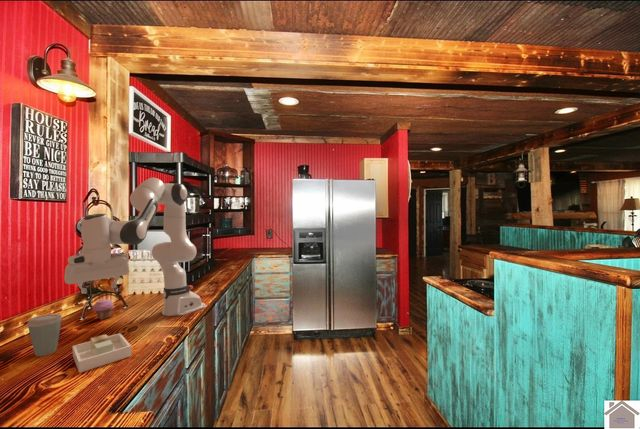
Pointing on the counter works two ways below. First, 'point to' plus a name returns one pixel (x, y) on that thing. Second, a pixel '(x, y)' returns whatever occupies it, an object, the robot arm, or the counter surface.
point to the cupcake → (103, 308)
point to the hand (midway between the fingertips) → (99, 290)
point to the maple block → (98, 341)
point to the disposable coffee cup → (44, 333)
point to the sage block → (103, 347)
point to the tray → (89, 360)
